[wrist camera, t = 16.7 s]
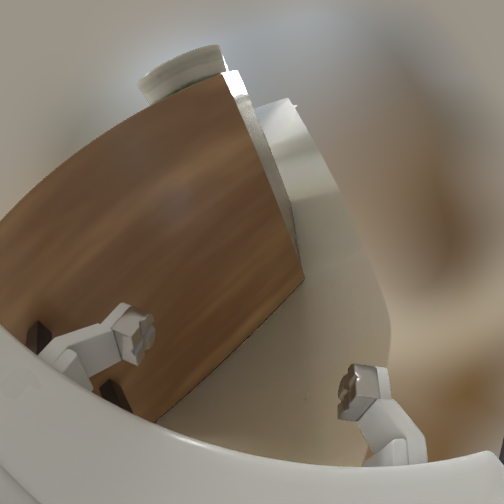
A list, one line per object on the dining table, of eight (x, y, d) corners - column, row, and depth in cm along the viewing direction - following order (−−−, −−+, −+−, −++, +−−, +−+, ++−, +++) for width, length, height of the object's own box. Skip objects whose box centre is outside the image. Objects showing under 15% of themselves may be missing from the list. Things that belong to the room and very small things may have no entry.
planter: (283, 162, 62) (229, 36, 43) (202, 206, 60) (133, 77, 41) (250, 149, 80) (208, 55, 61) (188, 183, 78) (137, 87, 59)
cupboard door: (344, 295, 28) (271, 53, 14) (166, 470, 19) (-74, 323, 5) (299, 275, 33) (216, 75, 19) (139, 425, 24) (-44, 278, 10)
